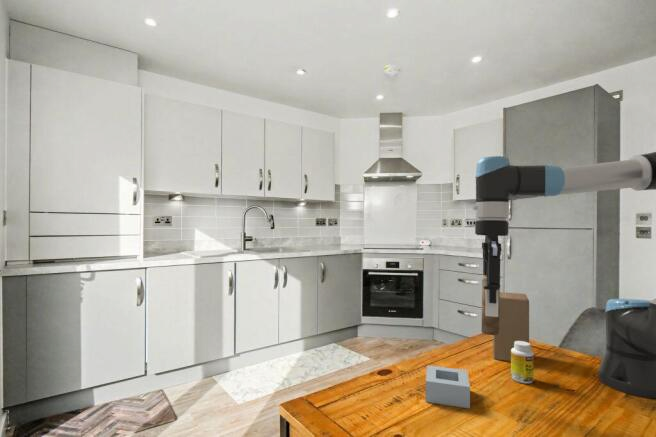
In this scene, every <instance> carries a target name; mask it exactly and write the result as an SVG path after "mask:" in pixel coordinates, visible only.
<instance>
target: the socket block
mask: <svg viewBox="0 0 656 437" xmlns="http://www.w3.org/2000/svg"><path fill="white" fill-rule="evenodd" d="M470 385H471V384H470V378H469V373H468V370H467V369H459V368H452V367H444V366H436V365H430V364H429V365H427V366H426V375H425V403H433V404H438V405H445V406H452V407H458V408H463V409H464V408H466V409H470V408H471V386H470Z"/></svg>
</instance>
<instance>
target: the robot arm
mask: <svg viewBox="0 0 656 437" xmlns="http://www.w3.org/2000/svg"><path fill="white" fill-rule="evenodd" d="M475 169H476V170H475V205H474V206H473V207H472V208H473V210H474V211H475V218H476V219H477V220H476V221H475V223H474V224H475V225H474V226H475V227H474V234H475V235H476V236H485V237H484V242H481V249H482V261H483V262H482V275H487V286H486V287H485V286H484V289H486V316H492V317H498V289H501V255H502V243H500V242H499V237H506V236H508V235H509V226H510V225H509V223H510V222H508V220H507V219H509V217H510V201H516V200H523V199H531V198H542V197H544V198H547V197H556V196H561V195H563V196H564V195H571V194H579V193H580V194H582V193H592V192H602V191H611V190H620V189H630V188H631V189H632V190H633V191H637V192H638V191H651V190H654V191H656V151H654V152H650V153H643V154H636V155H633V156H631V157H630V158H628V159H626V160H615V161H608V162H607V161H606V162H600V163H599V162H598V163H590V164H583V165H582V164H580V165H572V166H564V167H562V166H561V167H560V166H558V165H548V164H544V165H541V164H539V165H514V164H511V162H510V159H509V157H508V156H503V155H502V156H501V155H494V156H492V155H491V156H486V157H482V158H480V159H478V160H477V162H476V168H475ZM604 312H605V340H606V341H605V345H606V346H605V348H606V349H605V353H604V356H603V358H602V360H601V363H600V365H599V367H598V374H597V375H598V376H597V377H598V380H599V381H600V382H601V383H602V384H604V385H606V386H608V387H609V388H612V389H614V390H617V391H620V392H623V393H626V394H629V395H633V396H638V397H642V398H648V399H656V298H654V299H652V300H648V299H645V300H644V299H634V298H632V299H631V298H628V299H627V298H610V299H608V300H607V302H606V305H605V311H604Z"/></svg>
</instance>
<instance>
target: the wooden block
mask: <svg viewBox="0 0 656 437" xmlns="http://www.w3.org/2000/svg"><path fill="white" fill-rule="evenodd" d="M492 336H493V337H492V341H493V342H492V349H493V350H492V352H493V353H492V354H493V359H494V360H497V361H498V360H499V361H505V362H510V363H511V349H512V348H514V342H515V341H524V342H528V343H530V300H529V298H528V296H527V294H525V293H518V292H504V291H500V312H499V335H492Z"/></svg>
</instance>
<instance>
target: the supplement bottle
mask: <svg viewBox="0 0 656 437" xmlns="http://www.w3.org/2000/svg"><path fill="white" fill-rule="evenodd" d="M534 356H535V355H534V352H533V350H532V349H531V343H530V342H529V343H528V342H524V341H515V342H514V348H512V349H511V362H510V378H511V379H512V381H513V380H514V381H515V382H517V383H520V384H529V385H530V384H532V383H533V382H534V378H535V377H534V376H535V375H534V374H535V373H534V372H535V371H534V370H535V369H534V368H535V366H534V359H535V357H534Z"/></svg>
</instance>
